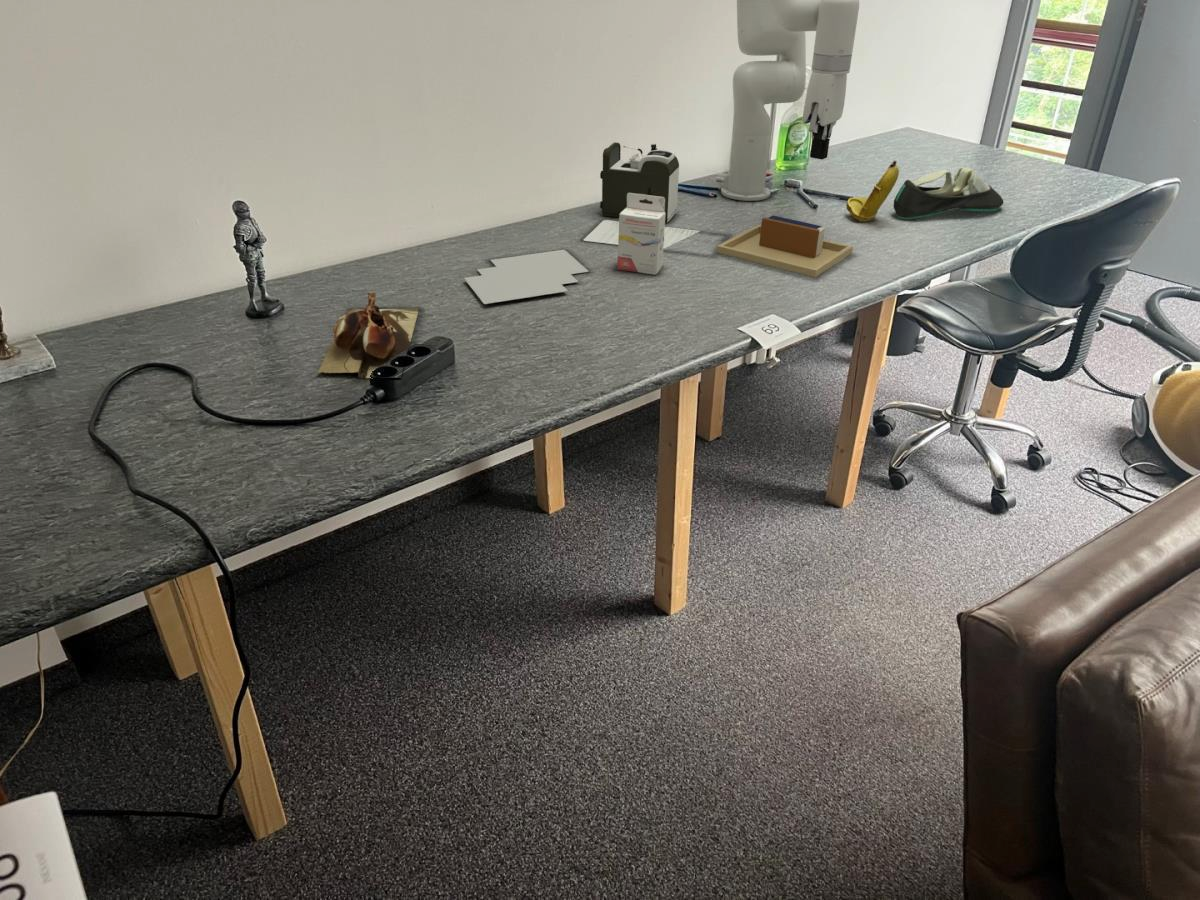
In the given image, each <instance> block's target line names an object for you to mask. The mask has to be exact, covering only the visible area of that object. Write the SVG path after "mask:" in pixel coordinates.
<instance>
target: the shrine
mask: <svg viewBox="0 0 1200 900" xmlns="http://www.w3.org/2000/svg"><path fill="white" fill-rule="evenodd" d="M897 163H898V161H897V160H893V162H892V163H891V164H890V165H889V166H888V167H887V169H886V170H885V172H884V173H883V175H882V176H881V177H880V179H879V180H878V182H877V183H875V184H874V185H873V189H872V191H871V192H870V194H869V196H868V197H863V196H860V197H858V196H856V197H849V198H848V199H847V202H846V205H845V207H846V210H847V212H849V216H850V218H851V219H853V220H854V221H855V222H858V223H869V222H872V221H873V220H874V219H876V216H877V214H878V212H879V210H880V208H881V206H882V205H883V203H884V202H885V201H886V200H887V198H888V196H889V195H890V193H891V192H892V190H893V188H894V187H895V185H896V183H897V181H898V179H899V174H900V173H899V172H900V169H899V166H898V165H897Z"/></svg>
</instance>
